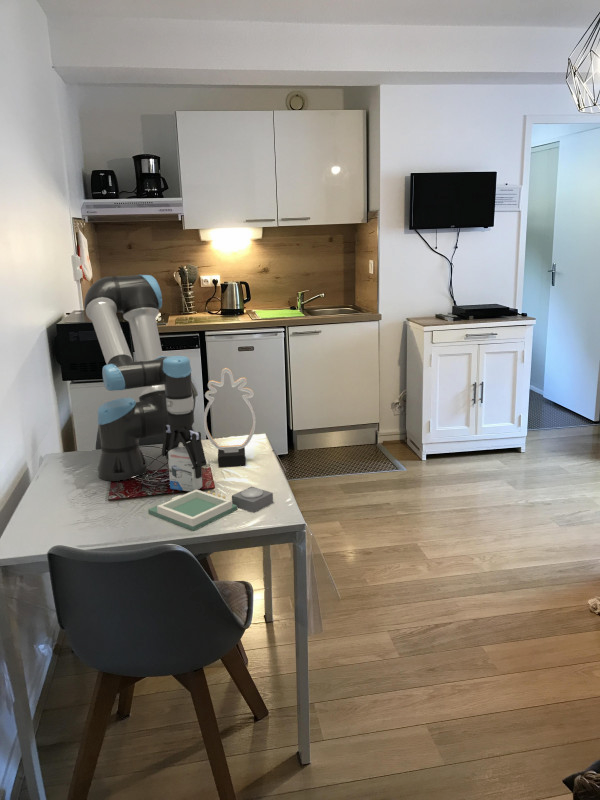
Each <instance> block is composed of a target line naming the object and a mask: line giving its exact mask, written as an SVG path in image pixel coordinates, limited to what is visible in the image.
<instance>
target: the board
mask: <svg viewBox="0 0 600 800" xmlns="http://www.w3.org/2000/svg"><path fill="white" fill-rule="evenodd" d="M237 510H238V507H237V505H234V504H232V500H229V499H227V498H226V495H222V497H221V494H220V493H218V494H216V492H212V494H211V491H210V490H208V491H207V492H206V491H202V490H200V489H199V490H197V489H196V490H194V491H187V493H184V494H182V495H181V494H180V495H179V494H178V495H176V496H174V497H172V498H171V499H169V500H167V501H164V502H163V503H160V504H158V505H156V506H152V507H151V508H148V509H147V512H148V514H149V515H152V516H154V517H156V518H159V519H161V520H164V521H167V522H169V523H173V524H175V525H177V526H180V527H183V528H185V529H187V530H190V531H192V532H193V531H197V529H200V528H202V527H204V526H207V525H209V524H211V523H213V522H215V521H217V520H219V519H221V518H223V517H224V516H225V517H226V516H227V515H229V514H231V513H233V512H236V511H237ZM212 521H213V522H212ZM210 522H211V523H210ZM208 523H209V524H208ZM206 524H207V525H206Z"/></svg>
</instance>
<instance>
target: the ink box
mask: <svg viewBox="0 0 600 800" xmlns="http://www.w3.org/2000/svg"><path fill="white" fill-rule="evenodd" d="M168 457H169V469H168V473H169V475H170V476H169V488H170V490H175V491H176V490H178V491H185V492H191V491H194V490H196V489H193V484H192V470H191V468H192V467H193V465H192V462H191V460H190V457H189V455H188V452H187V450H186V447H184V446H178V447H176V448H174V449H172V450H170V451H169V452H168ZM196 464H197V462H196ZM202 469H203V466H202V467H201V470H202ZM202 471H203V470H202ZM201 485H202V487H203V476H202V477H201ZM202 487H199V488H197V490H200V489H201V488H202Z"/></svg>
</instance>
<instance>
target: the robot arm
mask: <svg viewBox="0 0 600 800" xmlns="http://www.w3.org/2000/svg"><path fill="white" fill-rule="evenodd" d="M162 296H163V294H162V290H161V288H160V284H159V283H158V280H157V279H156V278H155V277H154V276H152V275H151V274H135V275H119V276H105V277H101V278H100V279H97V280H96V281H95V282H94V283H93V284H91V286H90V287H89V288H88V290H87V291H86V293H85V296H84V303H83V305H84V306H83V307H84V311H85V314H86V317H87V318H88V319H89V320H90V321H91V322H92V325H93V328H94V331H95V334H96V337H97V340H98V343H99V346H100V349H101V352H102V355H103V357H104V361H105V363H106V364H105V365H104V366H102V373H101V374H102V382H103V386H104V388H105V389H106V390H107V391H112V392H113V391H124V390H132V389H138V388H141V393H139V396H138V400H139V401H136V399H134V398H132V397H122V398H116V399H112V400H110V401H109V400H108V401H107V402H104V403H103V404H102V405H100V406H99V407H98V409H97V424H98V430H99V440H100V449H101V454H100V458H99V463H98V466H97V473H98V478H100V479H102V480H103V481H108V482H121V481H120V480H123V481H127V480H126V479H129V480H131V479H130V478H131V477H132V476H136V475H141V474H143V473H145V472H146V471H147V472H148V464H147V460H146V459H145V456H144V454H143V452H142V450H141V447H140V439H146V438H151V437H159V436H163V441H162V448H161V456H162V457H165V459H166V460H167V468H168V470H169V457H168V452H169V451H170V450H172V449H174V448H176V447H180V446H179V445H180V443H181V444H182V447H186V450H187V452H188V455H189V457H190V460H191V462H192V465H193V467H192V468H191V470H192V484H193V489H197V488H199V487H201V488H202V487H203V486H202V485H203V484H202V485H201V477H202V478H203V470H201V467H202V468H203V467H204V466H206V465H207V464H208V463H207V460H206V456H205V451H204V447H203V443H202V432H200V431H198V432H196V431H194V429H193V424H194V423H195V414H194V412H195V411H194V410H193V409H194V400H193V399H194V398H193V385H192V368H191V360H190V359H189V358H188V356H183V355H172V356H166V355H163V349H162V345H161V339H160V334H159V330H158V324H157V317H158V315H159V314H160V309H162V307H163V297H162ZM117 313H122V317H123V320H125V321H127V322H128V324H129V328H130V333H131V337H132V344H133V349H134V353H135V354H134V355H135V359H136V361H134V359H133V357H132V356H133V355H132V353H131V351H130V348H129V345H128V343H127V340H126V337H125V334H124V333H123V332H124V331H123V329H122V327H121V324H120V321H119V319H118V316H117ZM196 462H197V464H196ZM147 472H146V473H147ZM146 473H145V474H146ZM143 475H144V474H143ZM169 477H170V475H169Z"/></svg>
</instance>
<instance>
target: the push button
mask: <svg viewBox="0 0 600 800" xmlns="http://www.w3.org/2000/svg"><path fill="white" fill-rule="evenodd" d="M273 497H274V493H273V492H272V491H268V490H264V489H261V488H258V487H255V486H250V487H248V488H245V489H243V490H240V491H238V492H236V493H234V494H233V495H231V501H232V504H234V505H237V509H238V508H239V509H242V510H245V511H247V512H250V513H253V514H254V513H255V512H258V511H260V510H262V509H264V508H266V507H268V506H270V505H272V504H274V498H273Z"/></svg>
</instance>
